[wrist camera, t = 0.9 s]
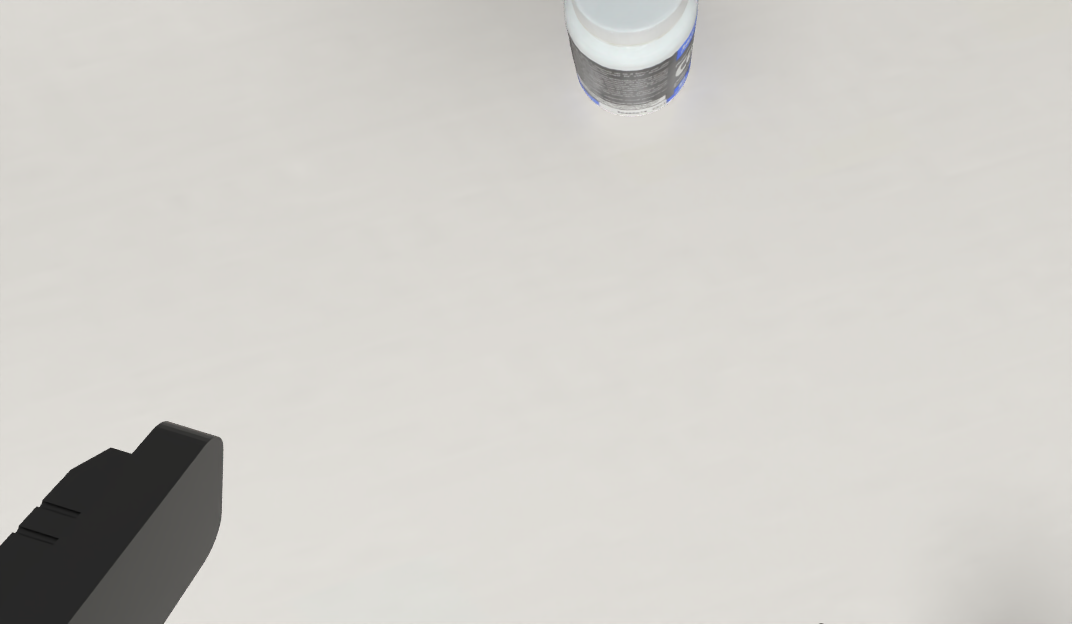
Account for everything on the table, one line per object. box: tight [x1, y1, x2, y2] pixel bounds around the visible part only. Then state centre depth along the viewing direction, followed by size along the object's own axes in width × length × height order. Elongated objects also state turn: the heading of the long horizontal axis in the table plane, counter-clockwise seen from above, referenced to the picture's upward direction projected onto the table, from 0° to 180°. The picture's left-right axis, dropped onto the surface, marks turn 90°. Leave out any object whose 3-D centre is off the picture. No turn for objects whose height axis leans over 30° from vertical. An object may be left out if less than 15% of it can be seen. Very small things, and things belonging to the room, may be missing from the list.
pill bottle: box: [564, 0, 698, 116], centre depth 34 cm, size 5×5×8 cm
